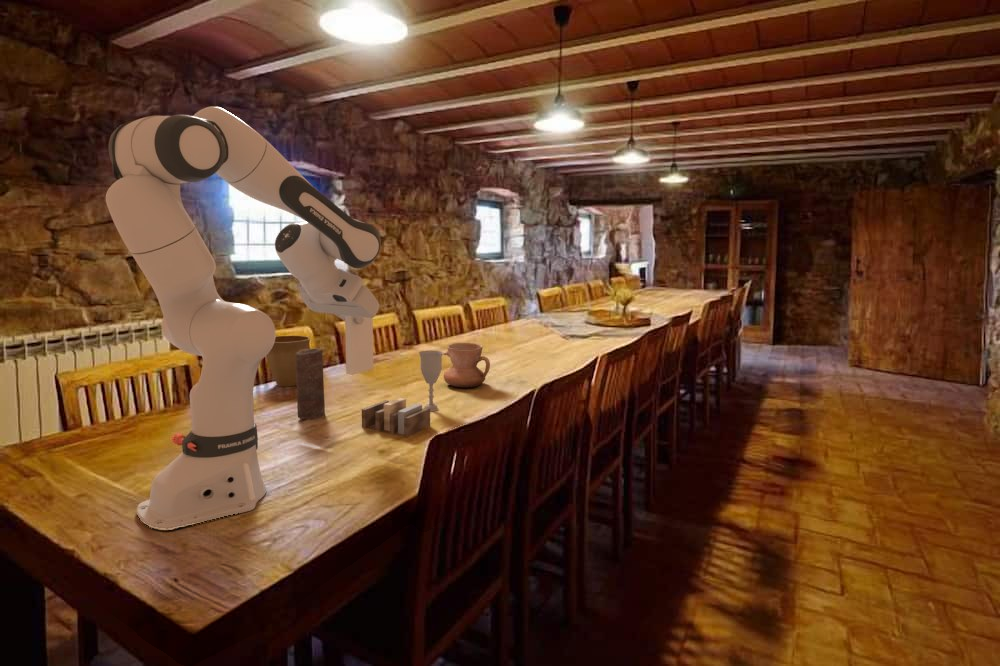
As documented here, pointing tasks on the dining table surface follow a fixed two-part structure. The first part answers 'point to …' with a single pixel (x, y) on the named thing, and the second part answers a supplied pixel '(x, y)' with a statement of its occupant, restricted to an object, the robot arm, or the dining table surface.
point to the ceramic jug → (465, 365)
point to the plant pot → (286, 358)
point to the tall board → (358, 345)
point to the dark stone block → (310, 384)
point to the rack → (394, 420)
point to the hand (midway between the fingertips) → (355, 321)
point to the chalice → (431, 372)
